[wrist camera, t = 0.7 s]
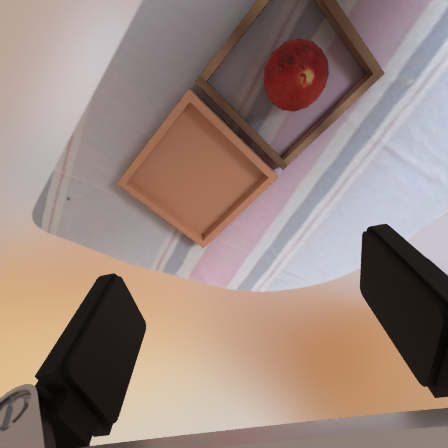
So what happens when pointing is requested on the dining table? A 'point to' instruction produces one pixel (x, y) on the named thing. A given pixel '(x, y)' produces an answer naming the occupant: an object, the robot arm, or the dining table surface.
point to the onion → (295, 74)
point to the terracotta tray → (197, 171)
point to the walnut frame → (373, 73)
